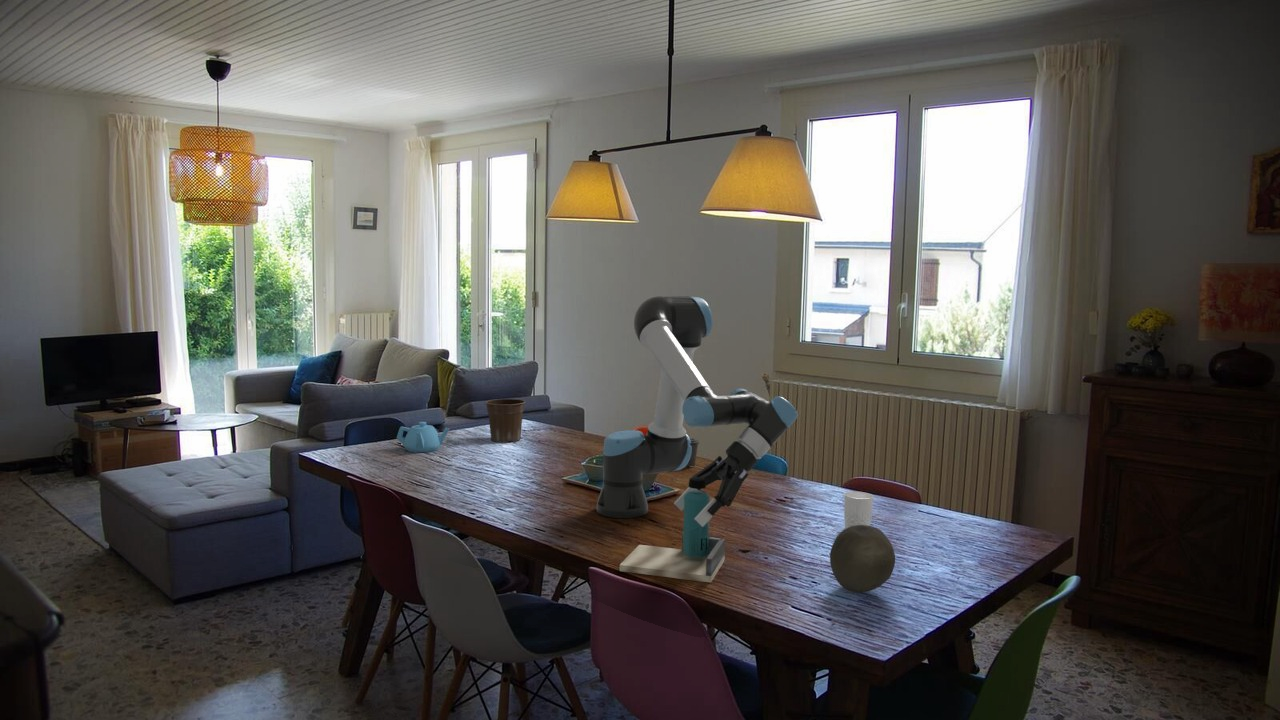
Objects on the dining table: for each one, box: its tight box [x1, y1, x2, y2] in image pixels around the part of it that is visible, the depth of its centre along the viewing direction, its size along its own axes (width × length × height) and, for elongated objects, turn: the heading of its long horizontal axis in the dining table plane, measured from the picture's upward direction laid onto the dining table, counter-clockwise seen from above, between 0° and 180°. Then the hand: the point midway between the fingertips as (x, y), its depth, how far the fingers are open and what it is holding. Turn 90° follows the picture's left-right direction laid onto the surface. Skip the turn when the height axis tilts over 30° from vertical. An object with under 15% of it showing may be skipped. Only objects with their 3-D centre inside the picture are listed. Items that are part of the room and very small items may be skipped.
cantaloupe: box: [829, 525, 896, 594], centre depth 190 cm, size 14×14×15 cm
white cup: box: [843, 491, 874, 530], centre depth 237 cm, size 8×8×10 cm
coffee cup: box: [686, 438, 700, 467], centre depth 311 cm, size 8×8×10 cm
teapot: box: [396, 421, 450, 453], centre depth 330 cm, size 15×15×11 cm
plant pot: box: [485, 398, 526, 443], centre depth 352 cm, size 16×16×16 cm
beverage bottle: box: [681, 476, 711, 557], centre depth 205 cm, size 6×7×20 cm
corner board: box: [619, 534, 726, 584], centre depth 205 cm, size 22×16×6 cm
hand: (687, 514), depth 204 cm, fingers open, 13 cm apart
